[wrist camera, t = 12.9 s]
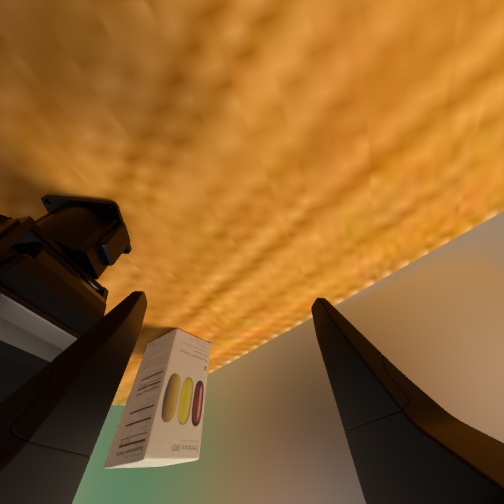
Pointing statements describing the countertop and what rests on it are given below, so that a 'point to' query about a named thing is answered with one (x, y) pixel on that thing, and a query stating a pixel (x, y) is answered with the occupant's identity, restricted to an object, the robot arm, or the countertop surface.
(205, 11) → the countertop surface
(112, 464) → the supplement box
